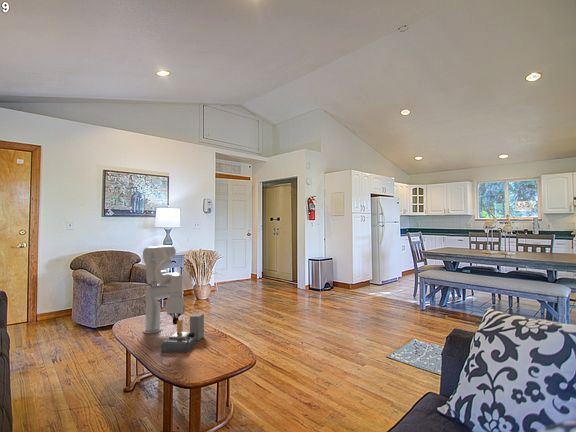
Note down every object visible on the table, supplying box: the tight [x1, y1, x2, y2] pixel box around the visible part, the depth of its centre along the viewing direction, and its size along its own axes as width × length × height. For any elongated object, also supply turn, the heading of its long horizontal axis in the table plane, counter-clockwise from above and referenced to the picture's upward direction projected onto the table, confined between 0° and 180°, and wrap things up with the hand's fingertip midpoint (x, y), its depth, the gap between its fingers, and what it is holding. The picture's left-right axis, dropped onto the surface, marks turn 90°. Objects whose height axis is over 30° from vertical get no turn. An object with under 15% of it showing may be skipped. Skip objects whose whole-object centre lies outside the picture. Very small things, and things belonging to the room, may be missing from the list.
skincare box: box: [189, 313, 205, 342], centre depth 203 cm, size 8×7×16 cm
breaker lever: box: [176, 318, 184, 335], centre depth 189 cm, size 5×2×8 cm, turn 178°
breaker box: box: [160, 331, 197, 354], centre depth 188 cm, size 16×16×8 cm
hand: (175, 323), depth 188 cm, fingers closed
